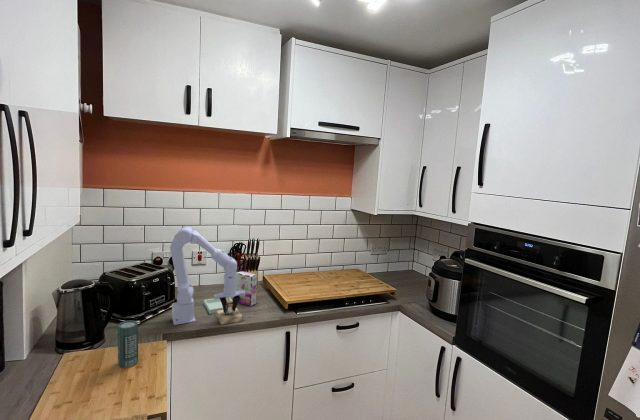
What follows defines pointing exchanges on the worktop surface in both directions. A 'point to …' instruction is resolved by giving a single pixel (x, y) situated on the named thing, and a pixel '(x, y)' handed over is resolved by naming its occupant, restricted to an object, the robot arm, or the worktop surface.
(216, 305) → the tray
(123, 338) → the can
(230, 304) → the metal pin
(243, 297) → the candy bar box
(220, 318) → the pin holder block
